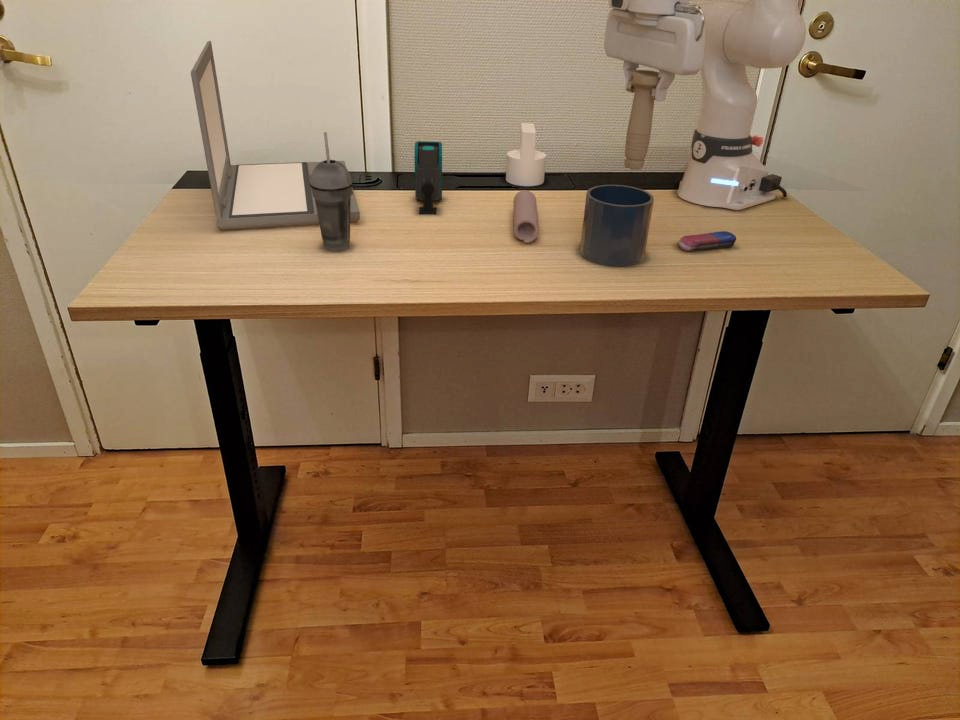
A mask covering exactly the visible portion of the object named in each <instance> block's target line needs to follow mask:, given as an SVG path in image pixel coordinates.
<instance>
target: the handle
mask: <svg viewBox="0 0 960 720" xmlns="http://www.w3.org/2000/svg"><path fill="white" fill-rule="evenodd" d="M658 76H659V71H656V70H649V69H648V70H647V69H636V70H633V71H632V73H631V83H632V85H634V86H635V92H634V93H633V99H632V104H631V105H632V106H631V110H630V114H629V119H628V125H627V129H626V131H627V132H626V136H625V145H624V149H625V150H624V157H625V158H624V162H623V164H624V167H625V168H626V169H630V170H633V171H634V170H638V171H639V170H641V169H642V168H644V165H645V159H646V156H647V154H648V149H649V146H650V142H651V141H650V140H651V133H652V125H653V115H654V109H655V100H653V99H652V98H651V95H652V88H655V87H657V85H658V83H659V81H660V79H661V78H659V77H658Z"/></svg>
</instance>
